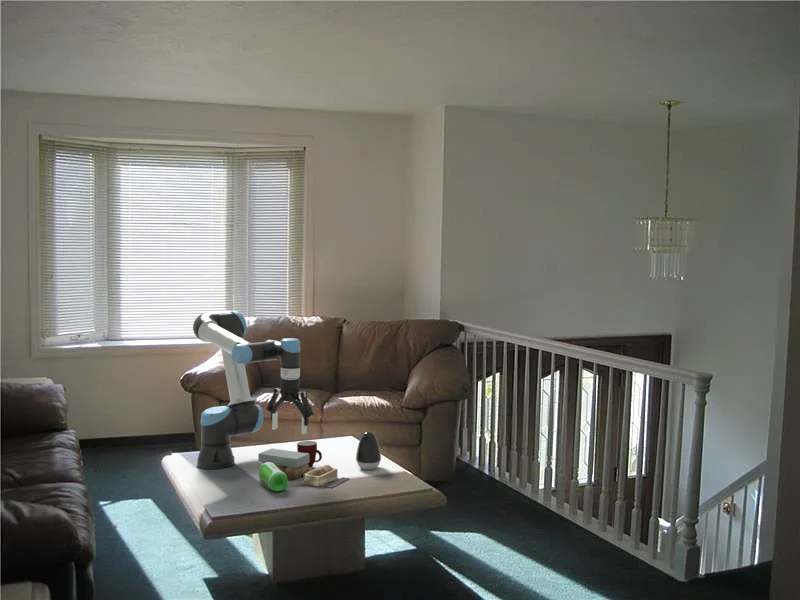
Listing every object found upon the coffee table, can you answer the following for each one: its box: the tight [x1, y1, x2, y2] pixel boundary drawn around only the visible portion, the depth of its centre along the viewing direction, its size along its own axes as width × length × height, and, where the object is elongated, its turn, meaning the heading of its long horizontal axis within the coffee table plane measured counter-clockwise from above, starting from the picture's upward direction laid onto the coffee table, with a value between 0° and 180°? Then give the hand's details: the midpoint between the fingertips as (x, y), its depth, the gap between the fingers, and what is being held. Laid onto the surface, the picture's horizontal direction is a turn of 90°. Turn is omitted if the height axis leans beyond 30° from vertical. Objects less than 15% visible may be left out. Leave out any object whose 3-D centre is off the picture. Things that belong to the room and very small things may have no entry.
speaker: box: [258, 462, 289, 492], centre depth 279 cm, size 18×7×8 cm, turn 25°
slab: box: [257, 448, 309, 468], centre depth 292 cm, size 18×9×4 cm, turn 64°
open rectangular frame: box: [302, 465, 338, 487], centre depth 285 cm, size 8×13×4 cm, turn 154°
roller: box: [309, 464, 333, 476], centre depth 285 cm, size 5×10×5 cm, turn 154°
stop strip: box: [324, 476, 350, 489], centre depth 282 cm, size 3×13×1 cm, turn 154°
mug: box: [296, 440, 323, 469], centre depth 303 cm, size 10×8×10 cm
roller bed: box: [258, 463, 310, 481], centre depth 293 cm, size 17×10×5 cm, turn 64°
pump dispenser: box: [355, 431, 382, 471], centre depth 301 cm, size 10×10×15 cm
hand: (289, 431), depth 291 cm, fingers open, 13 cm apart
